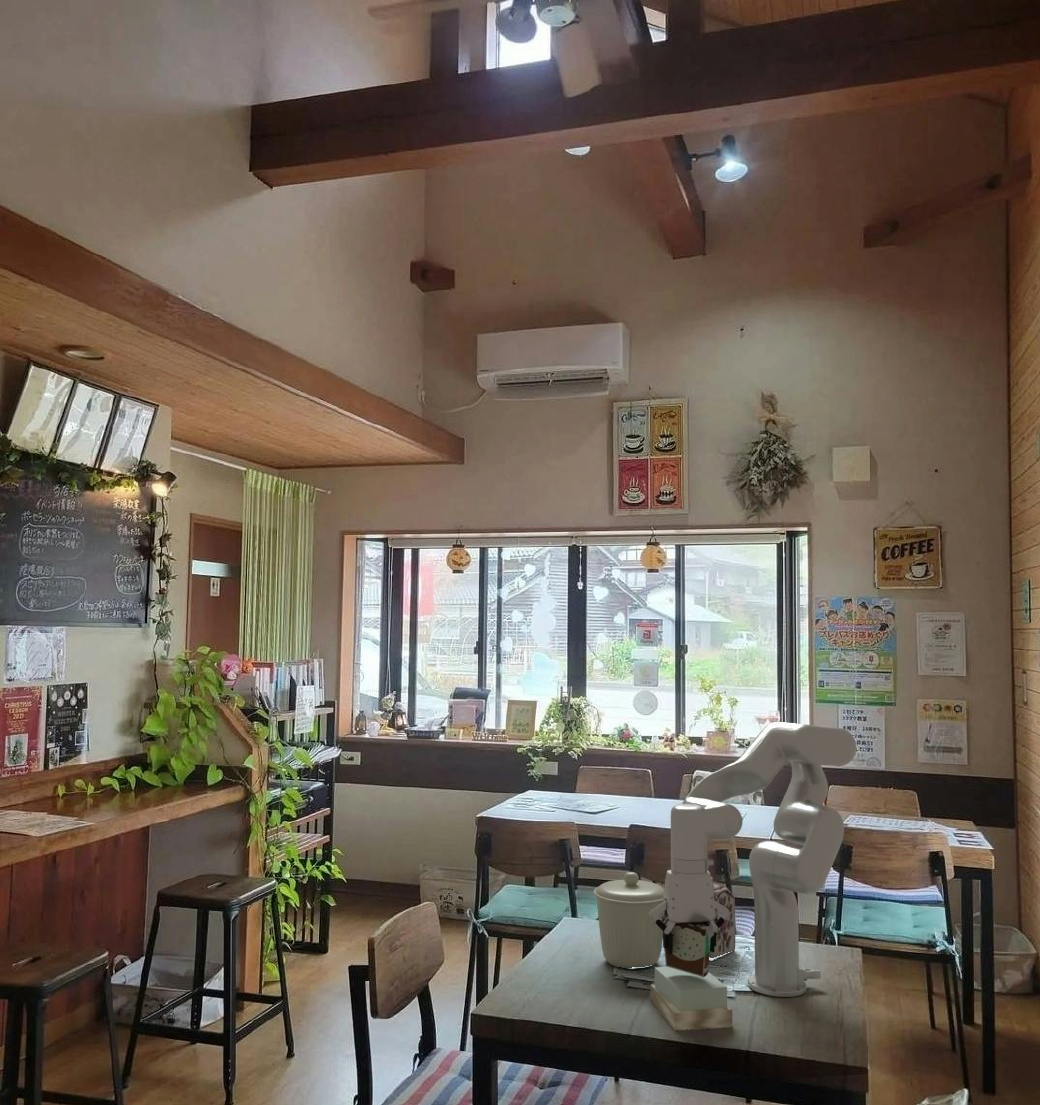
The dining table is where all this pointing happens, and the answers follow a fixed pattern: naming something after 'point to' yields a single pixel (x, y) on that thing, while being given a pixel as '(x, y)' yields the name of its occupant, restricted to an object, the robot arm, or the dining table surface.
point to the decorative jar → (727, 929)
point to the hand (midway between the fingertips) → (689, 950)
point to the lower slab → (691, 1014)
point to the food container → (690, 947)
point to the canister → (629, 921)
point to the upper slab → (690, 989)
